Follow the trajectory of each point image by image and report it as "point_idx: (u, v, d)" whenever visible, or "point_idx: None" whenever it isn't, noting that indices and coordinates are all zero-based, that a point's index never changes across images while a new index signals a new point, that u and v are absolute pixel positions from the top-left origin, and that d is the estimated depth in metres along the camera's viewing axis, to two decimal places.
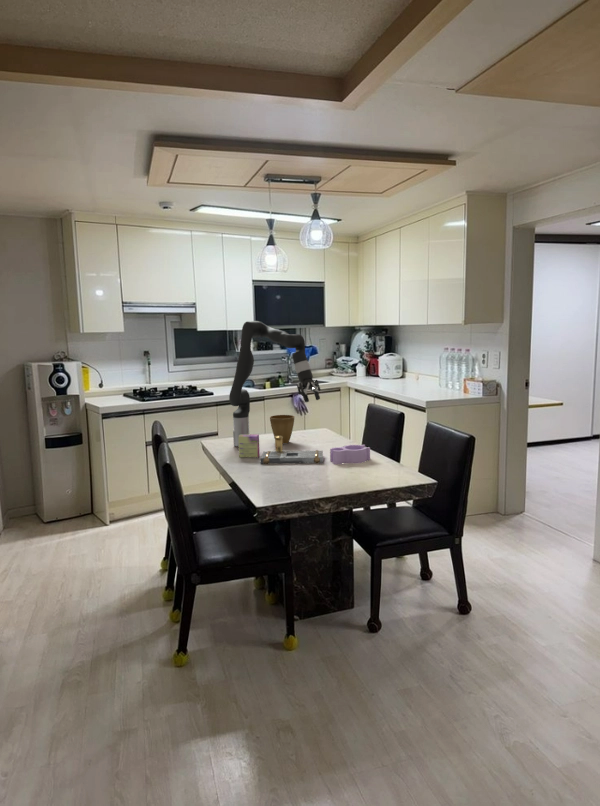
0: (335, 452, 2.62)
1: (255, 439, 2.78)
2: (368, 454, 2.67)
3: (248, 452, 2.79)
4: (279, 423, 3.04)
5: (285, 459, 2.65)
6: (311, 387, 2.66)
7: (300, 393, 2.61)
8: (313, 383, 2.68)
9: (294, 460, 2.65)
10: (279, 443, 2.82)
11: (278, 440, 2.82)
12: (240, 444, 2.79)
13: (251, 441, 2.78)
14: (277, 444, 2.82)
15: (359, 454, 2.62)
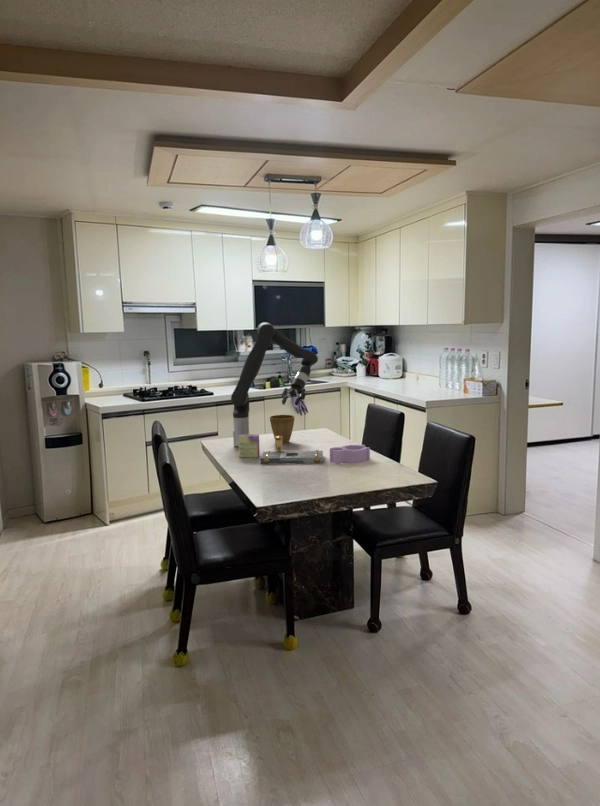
0: (334, 452, 2.62)
1: (255, 439, 2.78)
2: (368, 454, 2.67)
3: (248, 452, 2.79)
4: (279, 423, 3.04)
5: (285, 459, 2.65)
6: None
7: (303, 397, 2.89)
8: None
9: (294, 460, 2.65)
10: (279, 443, 2.82)
11: (278, 440, 2.82)
12: (240, 444, 2.79)
13: (251, 441, 2.78)
14: (277, 444, 2.82)
15: (358, 454, 2.62)
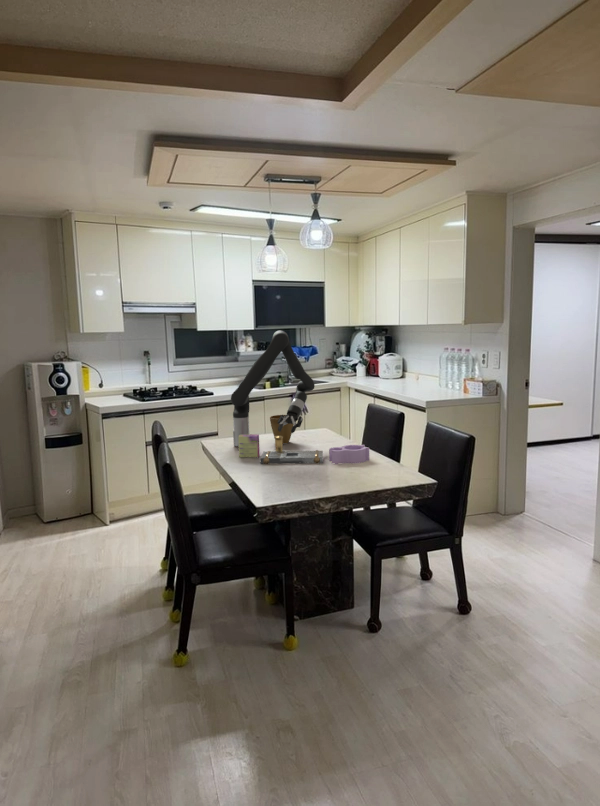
0: (334, 452, 2.62)
1: (255, 439, 2.78)
2: (367, 454, 2.66)
3: (248, 452, 2.79)
4: None
5: (285, 459, 2.65)
6: None
7: (299, 425, 2.87)
8: None
9: (294, 460, 2.65)
10: (279, 443, 2.82)
11: (278, 440, 2.82)
12: (240, 444, 2.79)
13: (251, 441, 2.78)
14: (277, 444, 2.82)
15: (358, 454, 2.62)
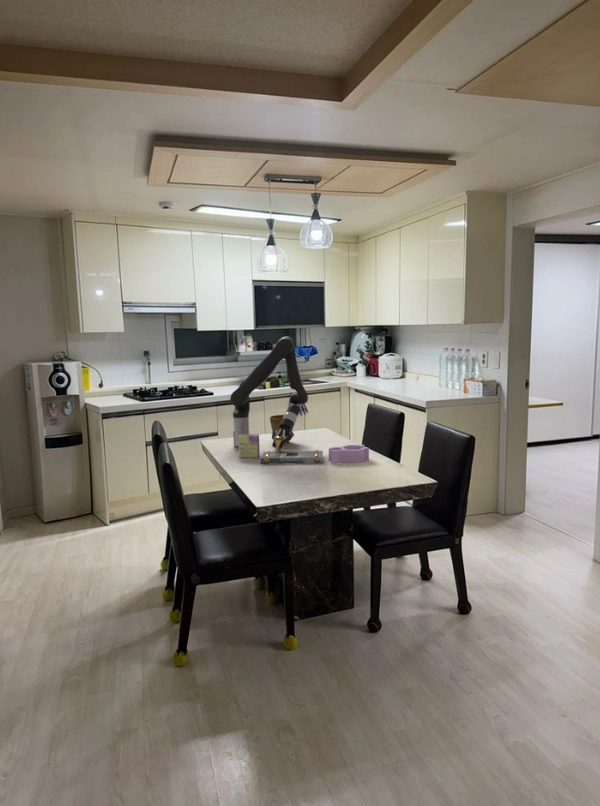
0: (333, 452, 2.62)
1: (255, 439, 2.78)
2: (367, 454, 2.66)
3: (248, 452, 2.79)
4: (279, 423, 3.04)
5: (285, 459, 2.65)
6: None
7: (287, 440, 2.82)
8: None
9: (294, 460, 2.65)
10: (279, 443, 2.82)
11: (278, 440, 2.81)
12: (240, 444, 2.79)
13: (251, 441, 2.78)
14: (277, 444, 2.82)
15: (357, 454, 2.62)
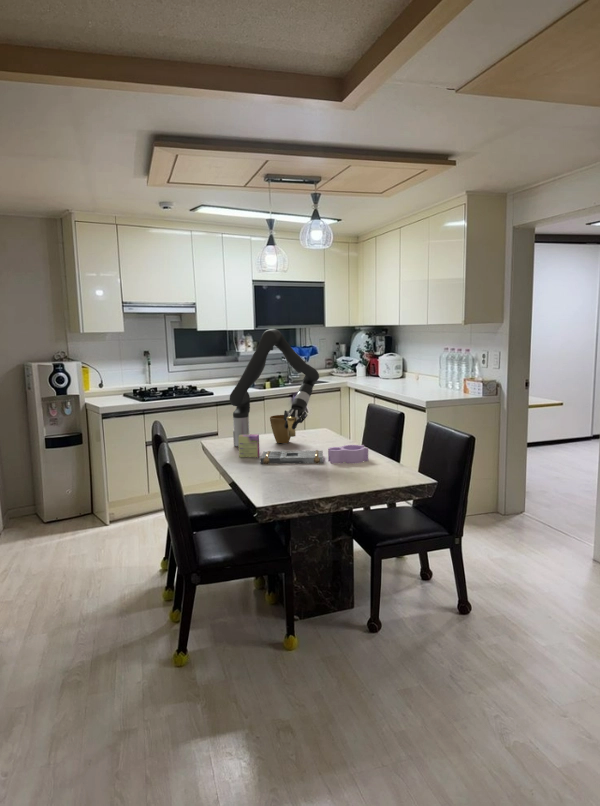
0: (332, 452, 2.63)
1: (255, 439, 2.78)
2: (366, 454, 2.66)
3: (248, 452, 2.79)
4: (279, 423, 3.04)
5: (285, 459, 2.65)
6: None
7: (300, 420, 2.68)
8: None
9: (294, 460, 2.65)
10: (292, 424, 2.68)
11: (291, 421, 2.68)
12: (240, 444, 2.79)
13: (251, 441, 2.78)
14: (290, 425, 2.69)
15: (356, 455, 2.62)
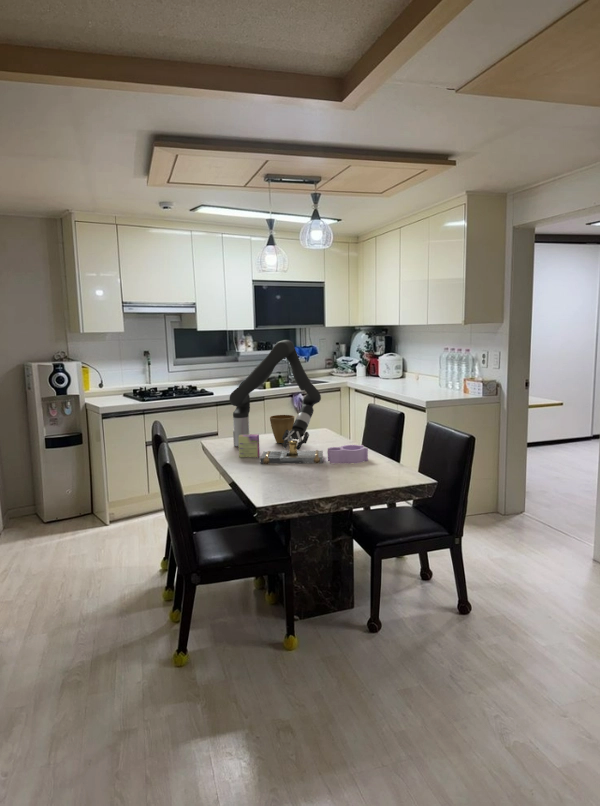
0: (332, 452, 2.62)
1: (255, 439, 2.78)
2: (366, 454, 2.66)
3: (248, 452, 2.79)
4: (279, 423, 3.04)
5: (285, 459, 2.65)
6: None
7: (305, 441, 2.69)
8: None
9: (294, 460, 2.65)
10: (293, 448, 2.70)
11: (292, 445, 2.70)
12: (240, 444, 2.79)
13: (251, 441, 2.78)
14: (291, 449, 2.70)
15: (356, 455, 2.62)
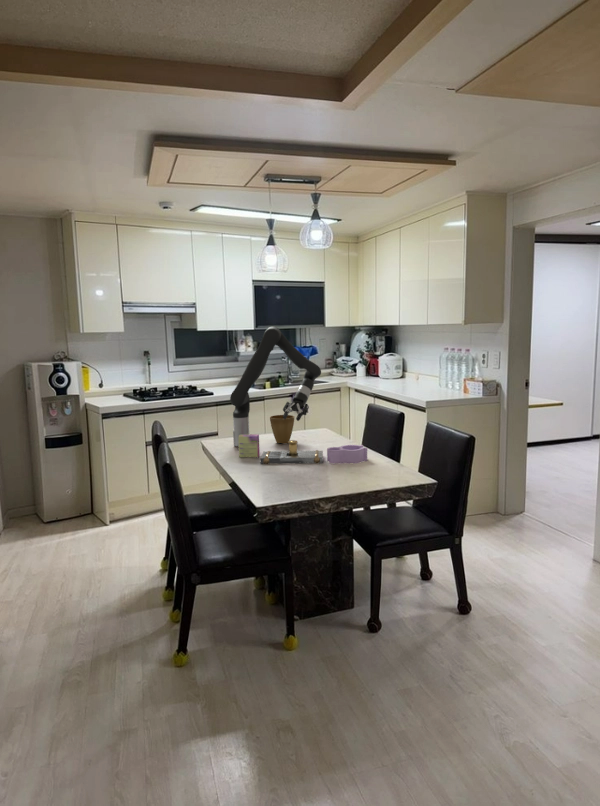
0: (331, 452, 2.62)
1: (255, 439, 2.78)
2: (365, 454, 2.66)
3: (248, 452, 2.79)
4: (279, 423, 3.04)
5: (285, 459, 2.65)
6: None
7: (305, 413, 2.79)
8: None
9: (294, 460, 2.65)
10: (293, 448, 2.70)
11: (292, 445, 2.69)
12: (240, 444, 2.79)
13: (251, 441, 2.78)
14: (291, 449, 2.70)
15: (355, 455, 2.62)
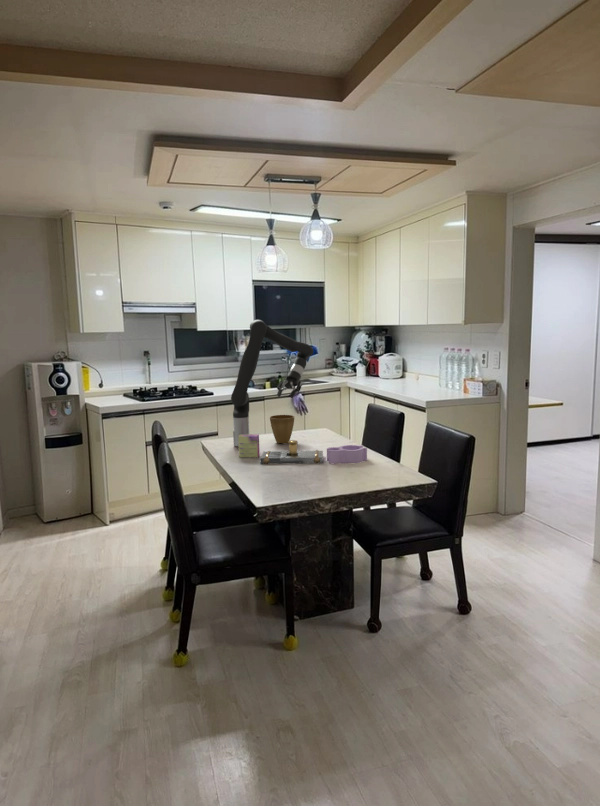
0: (331, 452, 2.62)
1: (255, 439, 2.78)
2: (365, 454, 2.66)
3: (248, 452, 2.79)
4: (279, 423, 3.04)
5: (285, 459, 2.65)
6: None
7: (298, 390, 2.88)
8: None
9: (294, 460, 2.65)
10: (293, 448, 2.70)
11: (292, 445, 2.69)
12: (240, 444, 2.79)
13: (251, 441, 2.78)
14: (291, 449, 2.70)
15: (355, 455, 2.62)
